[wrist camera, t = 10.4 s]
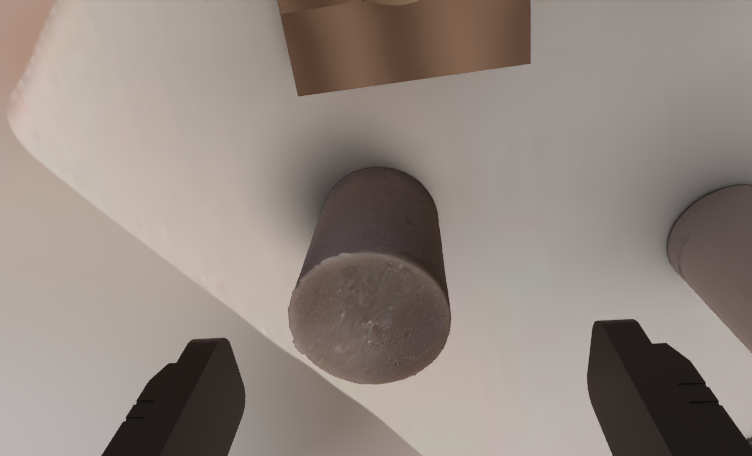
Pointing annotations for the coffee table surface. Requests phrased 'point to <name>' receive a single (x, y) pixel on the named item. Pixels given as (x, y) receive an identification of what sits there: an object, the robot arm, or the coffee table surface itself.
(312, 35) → the socket block
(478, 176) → the coffee table surface
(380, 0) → the peg
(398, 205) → the pillar candle
